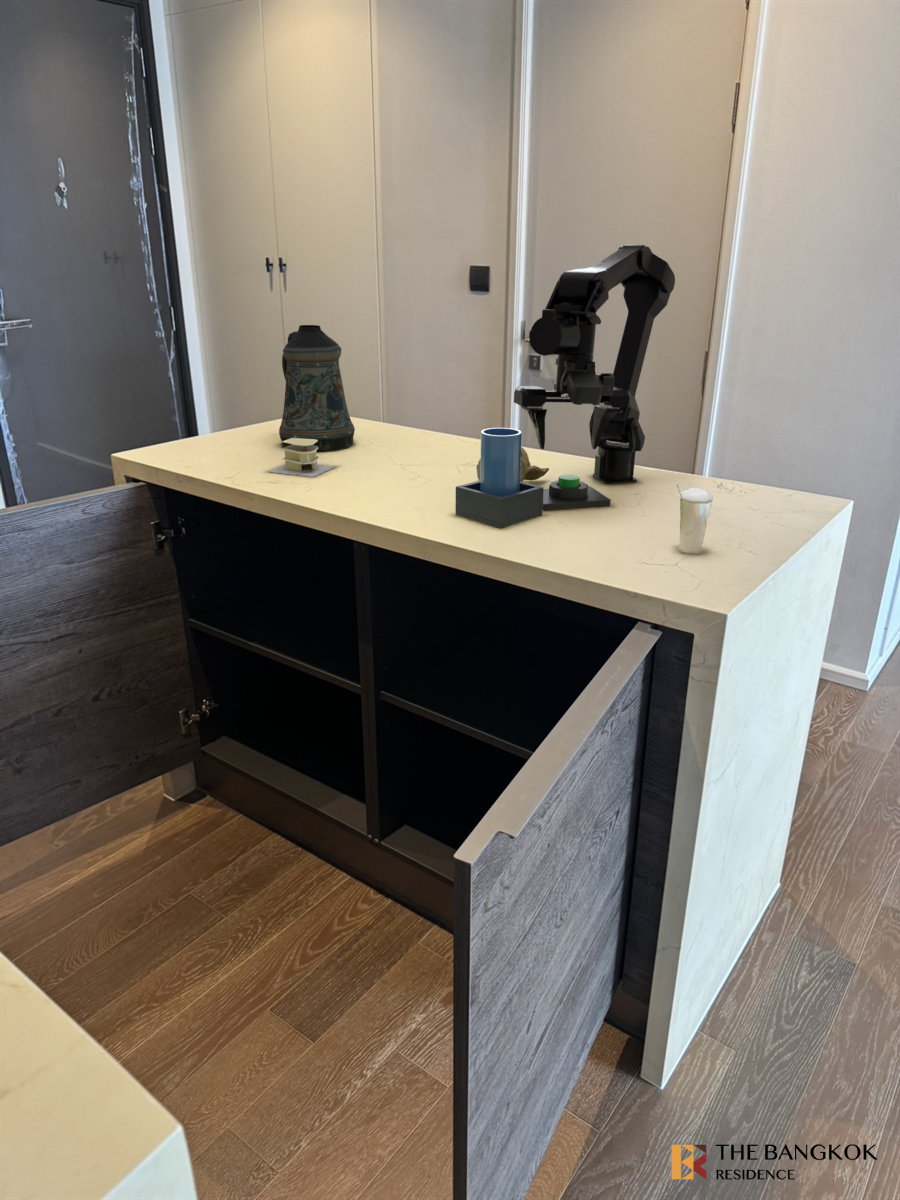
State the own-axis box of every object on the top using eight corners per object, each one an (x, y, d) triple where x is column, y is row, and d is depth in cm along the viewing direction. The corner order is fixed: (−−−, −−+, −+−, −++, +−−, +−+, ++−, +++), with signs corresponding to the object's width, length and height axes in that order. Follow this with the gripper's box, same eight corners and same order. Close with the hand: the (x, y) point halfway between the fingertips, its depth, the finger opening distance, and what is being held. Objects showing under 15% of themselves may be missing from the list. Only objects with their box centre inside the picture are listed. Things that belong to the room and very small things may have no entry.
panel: (590, 492, 155) (591, 476, 154) (610, 506, 147) (611, 489, 146) (526, 496, 153) (527, 480, 152) (543, 511, 145) (544, 493, 143)
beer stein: (329, 455, 181) (322, 331, 171) (253, 446, 188) (243, 327, 179) (369, 440, 195) (365, 324, 185) (297, 432, 202) (290, 321, 193)
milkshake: (664, 545, 128) (671, 480, 125) (699, 544, 129) (707, 479, 125) (674, 555, 124) (682, 488, 120) (710, 554, 125) (719, 487, 121)
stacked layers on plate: (268, 472, 168) (266, 444, 166) (293, 462, 176) (291, 435, 174) (313, 477, 165) (311, 448, 162) (336, 466, 172) (334, 439, 170)
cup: (523, 507, 144) (526, 429, 139) (511, 518, 138) (514, 437, 133) (486, 503, 146) (488, 426, 141) (474, 513, 140) (475, 434, 135)
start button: (574, 483, 151) (575, 473, 150) (582, 489, 148) (582, 479, 147) (555, 484, 150) (555, 475, 149) (562, 490, 147) (563, 480, 146)
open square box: (497, 502, 149) (497, 475, 147) (542, 515, 142) (543, 487, 141) (455, 514, 142) (455, 486, 141) (501, 528, 136) (501, 499, 134)
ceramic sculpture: (462, 440, 154) (506, 431, 166) (459, 487, 157) (503, 475, 169) (512, 448, 148) (554, 438, 160) (509, 497, 151) (550, 484, 163)
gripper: (534, 356, 132) (527, 457, 137) (649, 358, 135) (638, 457, 141) (515, 350, 142) (510, 445, 147) (622, 353, 146) (613, 445, 151)
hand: (568, 448), depth 146 cm, fingers open, 9 cm apart
